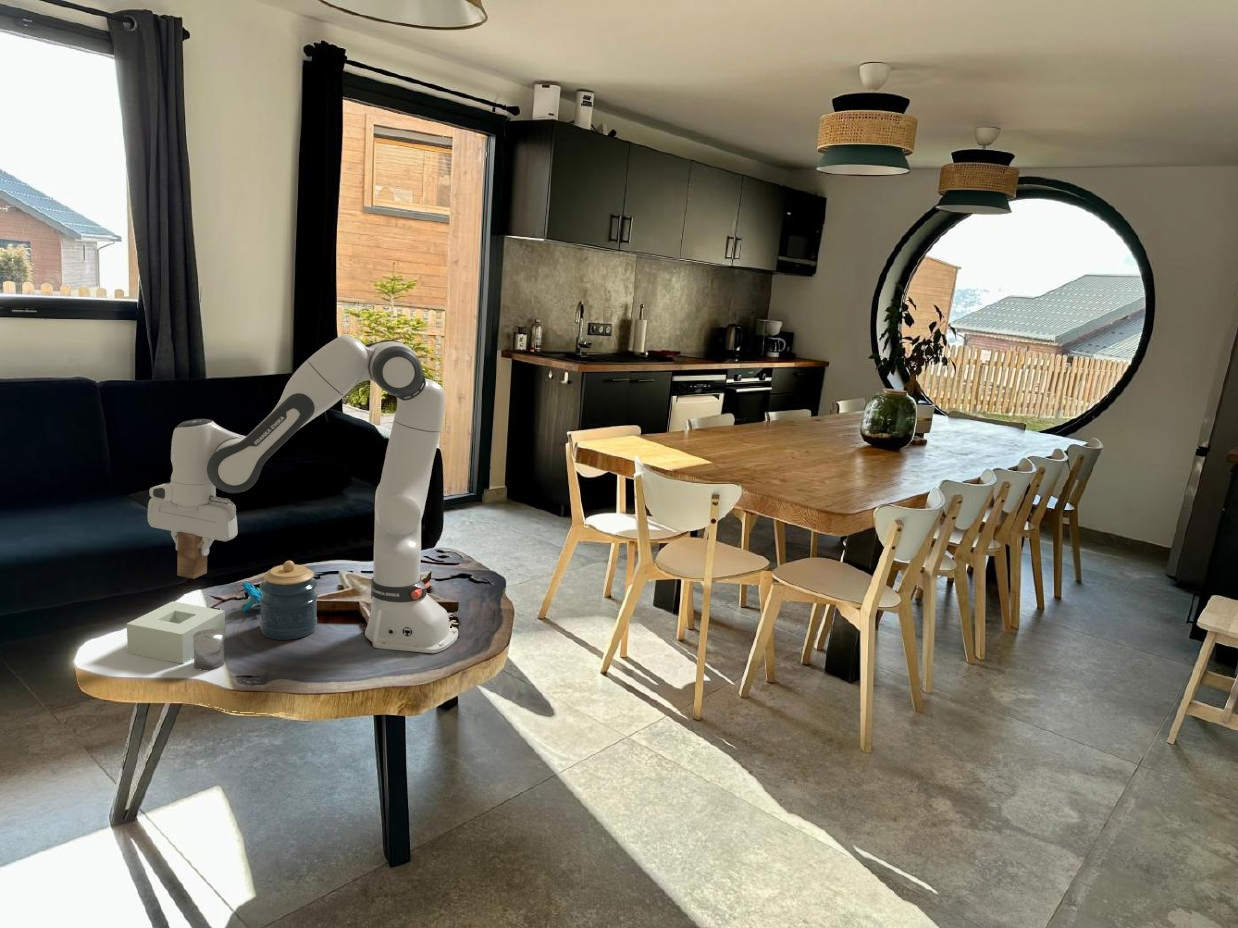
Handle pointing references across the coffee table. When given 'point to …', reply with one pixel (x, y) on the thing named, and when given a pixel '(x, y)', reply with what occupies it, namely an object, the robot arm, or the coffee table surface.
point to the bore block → (171, 631)
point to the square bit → (190, 556)
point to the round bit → (208, 649)
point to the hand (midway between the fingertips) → (192, 552)
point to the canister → (288, 602)
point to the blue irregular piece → (251, 595)
